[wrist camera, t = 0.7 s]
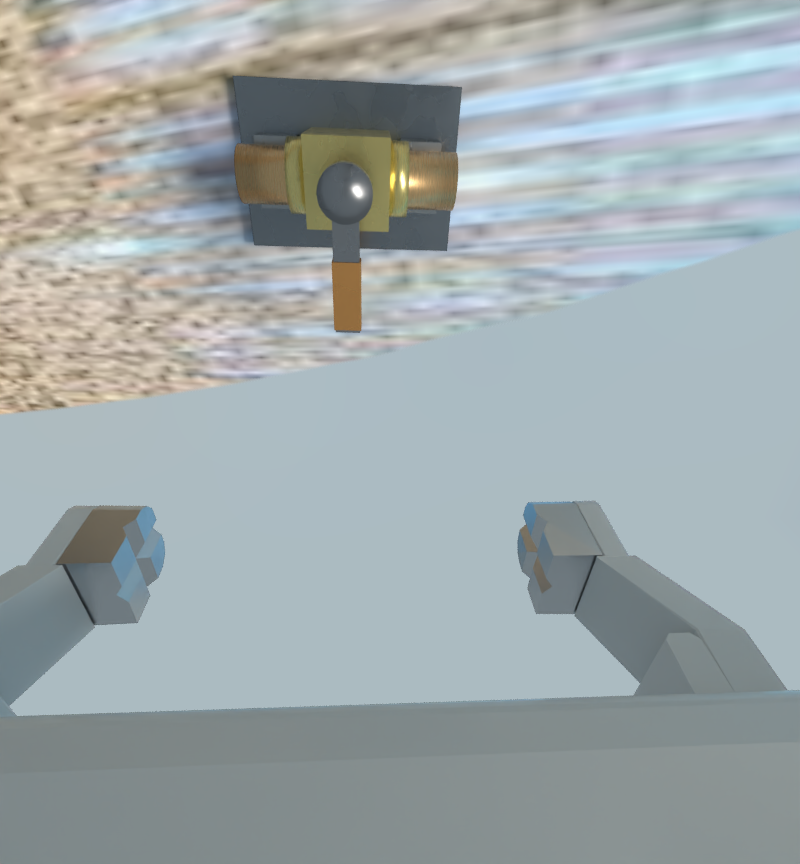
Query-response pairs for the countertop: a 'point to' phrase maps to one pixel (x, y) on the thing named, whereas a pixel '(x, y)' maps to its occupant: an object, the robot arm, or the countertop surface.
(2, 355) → the countertop surface
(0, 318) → the countertop surface
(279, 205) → the valve
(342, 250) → the lever
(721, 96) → the countertop surface
